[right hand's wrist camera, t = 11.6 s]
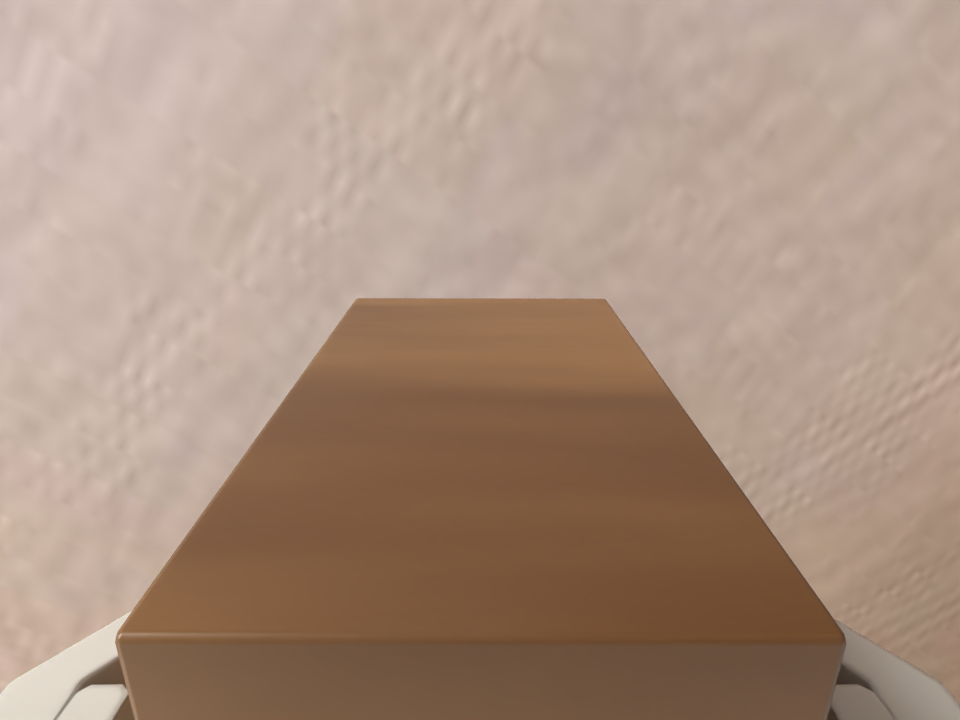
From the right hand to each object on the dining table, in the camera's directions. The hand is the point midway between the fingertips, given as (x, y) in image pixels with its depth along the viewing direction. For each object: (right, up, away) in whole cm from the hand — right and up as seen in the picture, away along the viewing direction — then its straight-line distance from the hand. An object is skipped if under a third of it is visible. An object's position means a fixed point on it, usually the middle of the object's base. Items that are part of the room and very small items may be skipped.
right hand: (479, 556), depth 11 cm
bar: (0, -6, +7) cm, 9 cm away
